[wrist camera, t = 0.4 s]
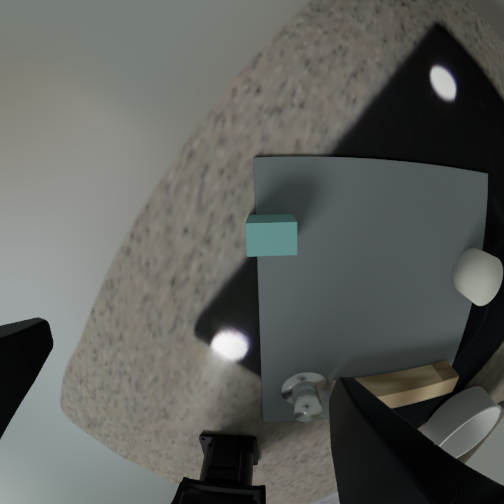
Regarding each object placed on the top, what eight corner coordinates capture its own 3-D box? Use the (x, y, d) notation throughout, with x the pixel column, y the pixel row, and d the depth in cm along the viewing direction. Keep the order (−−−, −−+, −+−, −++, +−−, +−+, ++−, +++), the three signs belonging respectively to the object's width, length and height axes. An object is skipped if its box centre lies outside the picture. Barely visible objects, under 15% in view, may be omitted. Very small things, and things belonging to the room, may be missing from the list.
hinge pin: (324, 400, 24) (330, 426, 21) (280, 403, 24) (281, 429, 21) (330, 368, 23) (337, 394, 20) (281, 371, 23) (283, 398, 20)
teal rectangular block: (291, 241, 20) (297, 255, 17) (249, 242, 20) (247, 256, 17) (291, 213, 20) (297, 221, 16) (248, 214, 20) (245, 223, 16)
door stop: (478, 290, 20) (496, 302, 17) (448, 294, 20) (466, 308, 18) (486, 246, 19) (506, 256, 16) (456, 248, 19) (476, 257, 16)
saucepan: (509, 391, 25) (525, 410, 20) (413, 448, 28) (424, 474, 22) (527, 339, 22) (548, 358, 17) (421, 404, 25) (438, 435, 19)
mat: (437, 395, 24) (438, 396, 24) (262, 420, 25) (262, 422, 25) (486, 173, 17) (487, 173, 17) (253, 157, 19) (253, 157, 18)
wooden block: (329, 395, 24) (335, 417, 21) (332, 379, 23) (338, 401, 20) (440, 375, 23) (451, 392, 20) (446, 359, 22) (459, 376, 19)
